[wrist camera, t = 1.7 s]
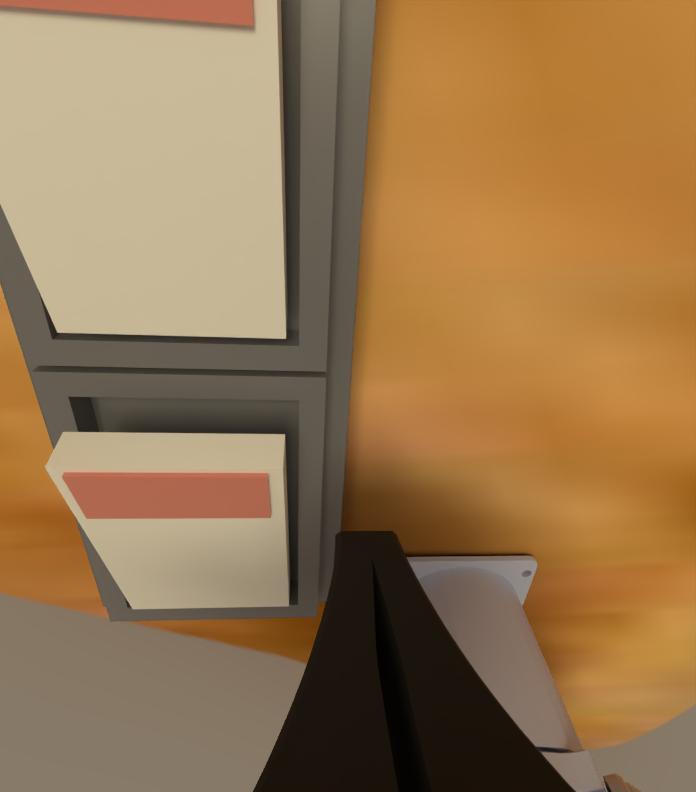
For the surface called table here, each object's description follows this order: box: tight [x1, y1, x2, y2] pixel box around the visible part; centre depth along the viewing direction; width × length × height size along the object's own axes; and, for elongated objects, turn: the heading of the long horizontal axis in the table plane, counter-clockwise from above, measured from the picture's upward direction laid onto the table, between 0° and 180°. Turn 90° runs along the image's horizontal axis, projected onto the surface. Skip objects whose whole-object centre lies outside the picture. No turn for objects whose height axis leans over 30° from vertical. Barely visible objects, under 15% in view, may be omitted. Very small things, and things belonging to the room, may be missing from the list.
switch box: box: [0, 0, 376, 621], centre depth 16 cm, size 24×10×5 cm, turn 177°
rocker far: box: [45, 432, 290, 609], centre depth 16 cm, size 9×6×1 cm, turn 177°
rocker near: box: [0, 0, 288, 339], centre depth 10 cm, size 9×6×1 cm, turn 177°
